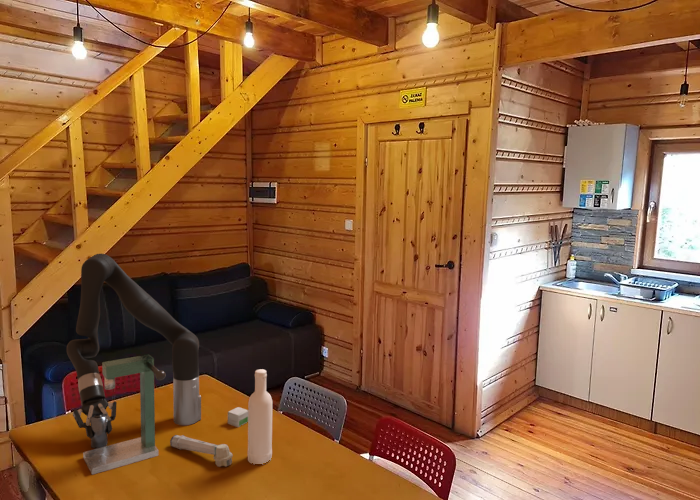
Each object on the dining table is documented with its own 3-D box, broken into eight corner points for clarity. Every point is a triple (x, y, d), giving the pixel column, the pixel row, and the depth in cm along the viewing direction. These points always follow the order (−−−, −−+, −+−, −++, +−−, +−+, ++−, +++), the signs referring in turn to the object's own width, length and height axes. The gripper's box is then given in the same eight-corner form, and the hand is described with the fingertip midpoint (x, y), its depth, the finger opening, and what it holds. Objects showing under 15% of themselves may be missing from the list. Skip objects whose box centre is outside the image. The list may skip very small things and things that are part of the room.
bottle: (276, 455, 171) (277, 368, 167) (264, 467, 163) (265, 376, 160) (255, 451, 173) (255, 365, 170) (242, 462, 166) (243, 373, 163)
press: (147, 440, 178) (145, 351, 174) (167, 467, 162) (166, 369, 158) (83, 458, 165) (80, 362, 162) (99, 488, 149) (96, 382, 146)
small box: (238, 427, 190) (238, 415, 189) (227, 423, 193) (227, 411, 192) (248, 422, 195) (249, 410, 194) (237, 418, 198) (237, 406, 197)
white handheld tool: (179, 431, 177) (234, 441, 165) (181, 450, 178) (236, 461, 166) (167, 438, 173) (223, 447, 161) (169, 457, 173) (225, 468, 161)
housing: (105, 439, 177) (104, 410, 176) (109, 445, 174) (108, 416, 172) (89, 443, 174) (88, 414, 173) (92, 449, 170) (92, 420, 169)
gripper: (69, 388, 173) (78, 436, 165) (114, 380, 182) (124, 425, 174) (67, 398, 178) (75, 445, 170) (111, 389, 187) (121, 433, 179)
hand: (100, 434), depth 172 cm, fingers closed on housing, 5 cm apart
